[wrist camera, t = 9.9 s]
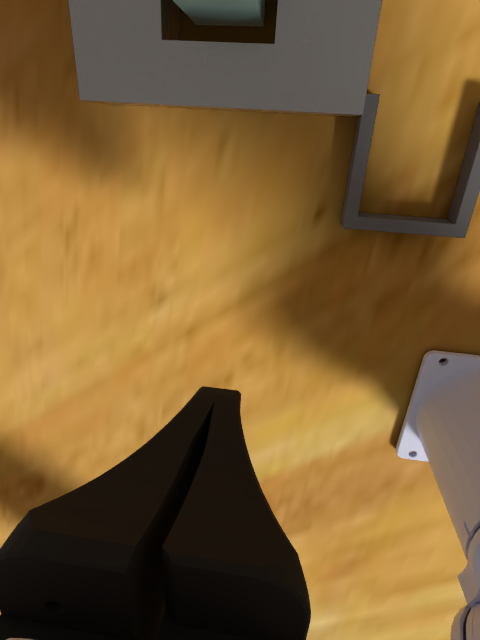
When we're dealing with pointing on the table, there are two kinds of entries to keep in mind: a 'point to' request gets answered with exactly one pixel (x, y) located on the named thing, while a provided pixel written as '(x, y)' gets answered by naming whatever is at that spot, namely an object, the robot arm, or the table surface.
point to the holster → (473, 178)
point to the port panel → (226, 58)
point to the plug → (224, 12)
